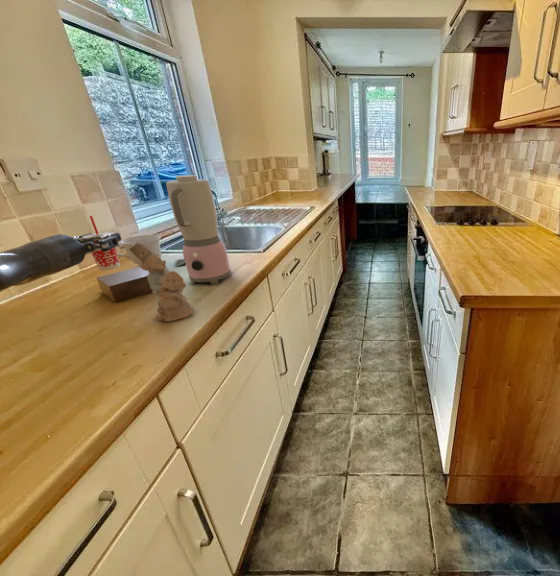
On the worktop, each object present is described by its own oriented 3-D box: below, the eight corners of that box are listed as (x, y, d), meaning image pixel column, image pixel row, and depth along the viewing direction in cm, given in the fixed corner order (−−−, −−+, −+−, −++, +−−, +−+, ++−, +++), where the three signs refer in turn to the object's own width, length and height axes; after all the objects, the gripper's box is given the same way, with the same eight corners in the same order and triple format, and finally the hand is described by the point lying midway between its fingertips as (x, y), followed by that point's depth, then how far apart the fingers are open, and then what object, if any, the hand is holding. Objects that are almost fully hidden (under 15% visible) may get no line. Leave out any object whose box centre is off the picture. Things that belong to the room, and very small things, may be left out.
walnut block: (115, 302, 89) (109, 286, 87) (102, 293, 95) (96, 277, 93) (159, 289, 97) (154, 274, 95) (144, 281, 103) (139, 266, 101)
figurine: (146, 322, 79) (118, 244, 70) (172, 306, 86) (149, 234, 78) (179, 324, 78) (154, 245, 69) (202, 308, 85) (182, 235, 77)
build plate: (176, 266, 115) (172, 254, 113) (178, 261, 121) (174, 249, 119) (214, 261, 120) (211, 249, 118) (214, 255, 126) (211, 244, 124)
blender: (202, 271, 110) (177, 174, 97) (237, 271, 111) (217, 174, 97) (176, 290, 96) (143, 179, 83) (217, 289, 96) (190, 179, 83)
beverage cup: (95, 273, 83) (74, 219, 77) (94, 267, 87) (74, 215, 81) (125, 267, 87) (106, 216, 81) (122, 262, 91) (105, 212, 85)
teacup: (117, 267, 115) (107, 240, 110) (165, 258, 124) (157, 233, 120) (120, 276, 106) (110, 248, 102) (171, 266, 116) (163, 239, 111)
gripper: (78, 238, 69) (129, 222, 85) (8, 239, 69) (72, 223, 84) (91, 270, 72) (138, 249, 88) (24, 272, 72) (83, 250, 87)
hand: (105, 236), depth 86 cm, fingers closed on beverage cup, 6 cm apart
